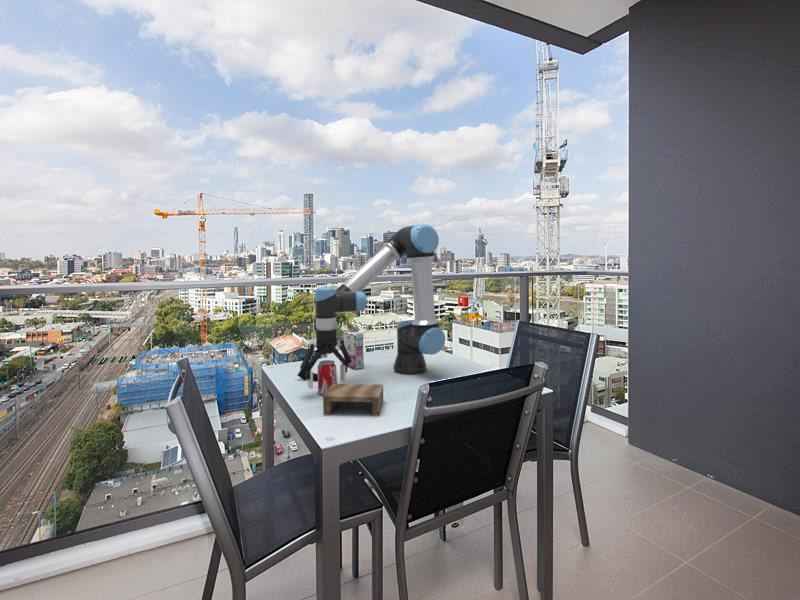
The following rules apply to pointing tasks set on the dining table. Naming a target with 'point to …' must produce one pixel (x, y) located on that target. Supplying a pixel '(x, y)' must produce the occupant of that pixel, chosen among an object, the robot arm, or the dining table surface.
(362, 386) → the walnut shelf
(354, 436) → the dining table surface
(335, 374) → the soda can
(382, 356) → the dining table surface
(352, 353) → the candy bar box
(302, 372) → the lighter
